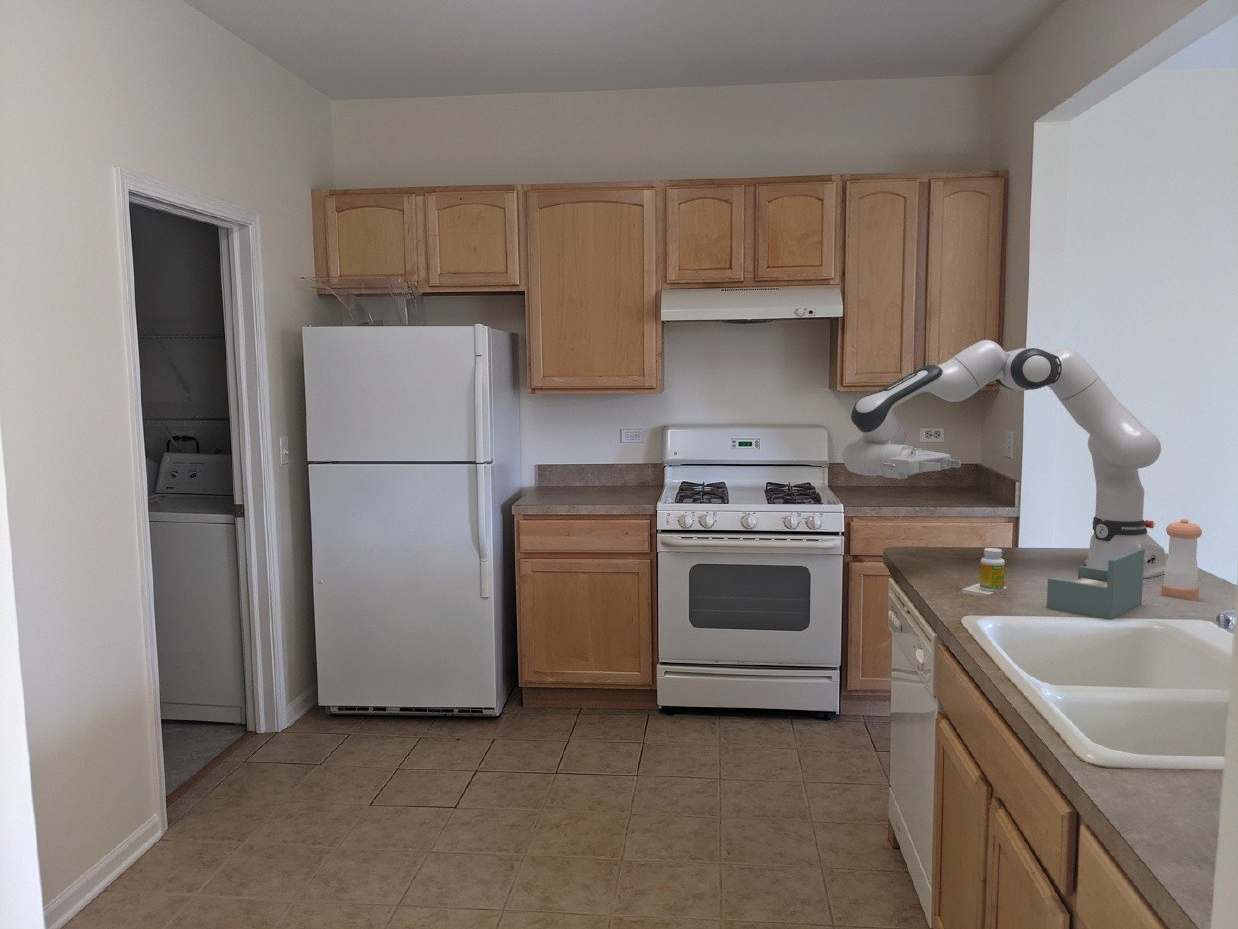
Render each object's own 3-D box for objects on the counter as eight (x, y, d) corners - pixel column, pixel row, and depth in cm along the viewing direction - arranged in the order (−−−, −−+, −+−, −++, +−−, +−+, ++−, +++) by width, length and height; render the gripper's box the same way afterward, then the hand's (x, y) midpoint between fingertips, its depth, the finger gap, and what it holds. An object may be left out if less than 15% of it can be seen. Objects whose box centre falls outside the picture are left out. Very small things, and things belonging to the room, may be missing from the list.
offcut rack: (1046, 614, 195) (1049, 551, 194) (1078, 599, 207) (1081, 540, 206) (1111, 626, 185) (1114, 561, 184) (1141, 610, 198) (1144, 548, 196)
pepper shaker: (1163, 595, 211) (1168, 515, 209) (1199, 600, 206) (1205, 518, 204) (1158, 601, 205) (1163, 519, 203) (1195, 606, 201) (1201, 523, 199)
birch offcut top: (1060, 592, 196) (1060, 585, 196) (1082, 584, 203) (1082, 578, 203) (1103, 600, 189) (1103, 593, 189) (1124, 591, 196) (1124, 585, 196)
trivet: (961, 593, 214) (961, 589, 214) (980, 586, 220) (981, 582, 220) (1002, 601, 206) (1003, 596, 206) (1021, 593, 213) (1021, 589, 213)
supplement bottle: (992, 593, 210) (993, 552, 209) (974, 588, 215) (975, 548, 214) (1008, 590, 212) (1010, 550, 211) (991, 585, 217) (992, 546, 216)
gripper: (878, 452, 223) (929, 455, 213) (919, 447, 237) (969, 450, 227) (877, 476, 224) (928, 481, 214) (919, 470, 238) (968, 474, 227)
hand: (950, 465), depth 220 cm, fingers open, 8 cm apart
